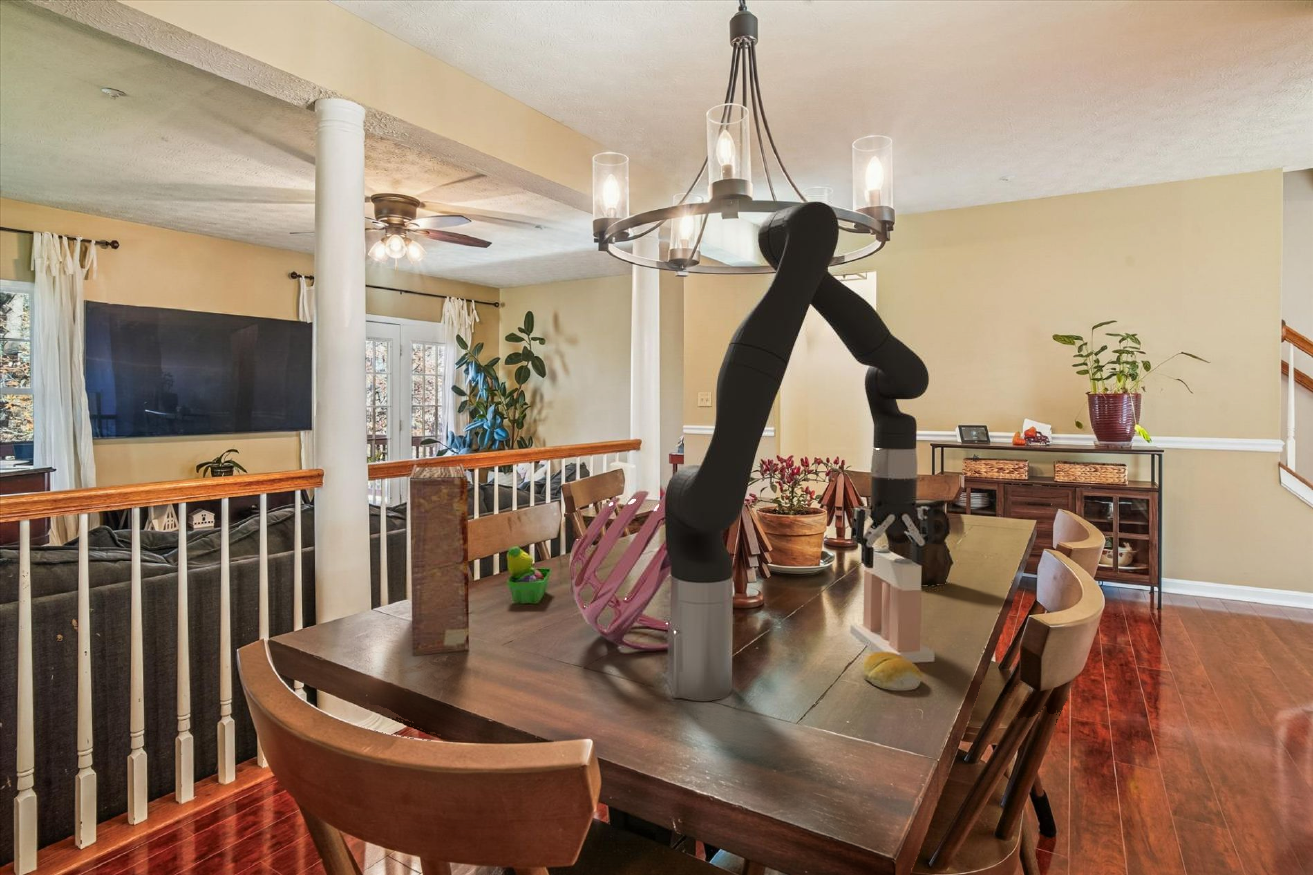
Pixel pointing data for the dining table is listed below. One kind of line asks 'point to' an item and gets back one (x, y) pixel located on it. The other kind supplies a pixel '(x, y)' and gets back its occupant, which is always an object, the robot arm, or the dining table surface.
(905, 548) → the owl
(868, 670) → the bread roll
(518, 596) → the fruit basket
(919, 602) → the display stand
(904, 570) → the frame bar
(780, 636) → the dining table surface
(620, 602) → the spiral basket
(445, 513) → the book
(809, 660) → the dining table surface
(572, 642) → the dining table surface
